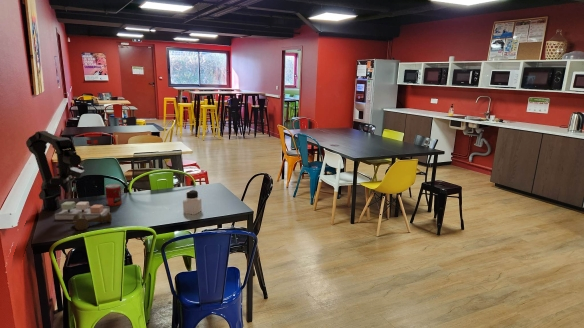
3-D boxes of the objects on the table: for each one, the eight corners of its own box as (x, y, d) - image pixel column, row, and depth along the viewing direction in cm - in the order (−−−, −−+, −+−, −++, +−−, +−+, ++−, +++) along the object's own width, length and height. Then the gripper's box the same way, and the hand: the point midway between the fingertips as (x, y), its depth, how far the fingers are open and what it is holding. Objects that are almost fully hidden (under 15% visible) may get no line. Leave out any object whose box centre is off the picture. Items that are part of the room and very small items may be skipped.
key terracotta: (90, 212, 195) (90, 207, 194) (94, 209, 199) (93, 204, 199) (99, 212, 195) (99, 207, 195) (103, 209, 200) (102, 204, 199)
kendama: (113, 225, 187) (66, 233, 175) (109, 220, 194) (64, 226, 183) (113, 214, 186) (65, 220, 174) (109, 208, 193) (63, 214, 182)
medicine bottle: (201, 211, 209) (201, 190, 206) (194, 215, 202) (193, 193, 200) (190, 209, 211) (190, 188, 209) (183, 213, 205) (182, 192, 202)
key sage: (61, 209, 193) (61, 204, 193) (66, 206, 198) (65, 201, 197) (71, 209, 194) (70, 204, 193) (75, 206, 198) (74, 201, 198)
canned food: (116, 206, 211) (114, 187, 209) (103, 205, 213) (102, 186, 210) (124, 202, 218) (123, 184, 216) (112, 201, 220) (111, 183, 218)
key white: (76, 209, 194) (75, 204, 193) (80, 206, 199) (79, 201, 198) (85, 209, 194) (84, 204, 194) (89, 206, 199) (88, 201, 198)
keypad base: (55, 219, 191) (54, 212, 190) (67, 211, 202) (66, 204, 201) (100, 219, 192) (99, 212, 192) (109, 211, 204) (109, 204, 203)
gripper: (72, 167, 182) (75, 198, 186) (89, 159, 200) (91, 187, 204) (47, 167, 181) (51, 198, 185) (67, 158, 199) (69, 187, 203)
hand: (67, 192), depth 194 cm, fingers closed
